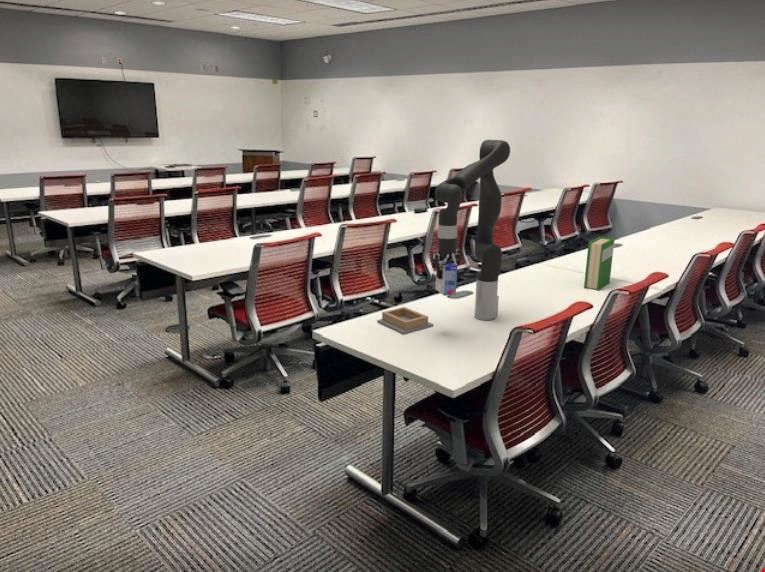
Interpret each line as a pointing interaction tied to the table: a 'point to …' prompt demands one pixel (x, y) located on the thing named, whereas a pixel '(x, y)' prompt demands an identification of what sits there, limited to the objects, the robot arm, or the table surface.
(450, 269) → the ink cartridge box
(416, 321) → the pocket holder
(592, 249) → the hardback book
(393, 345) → the table surface
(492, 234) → the robot arm
